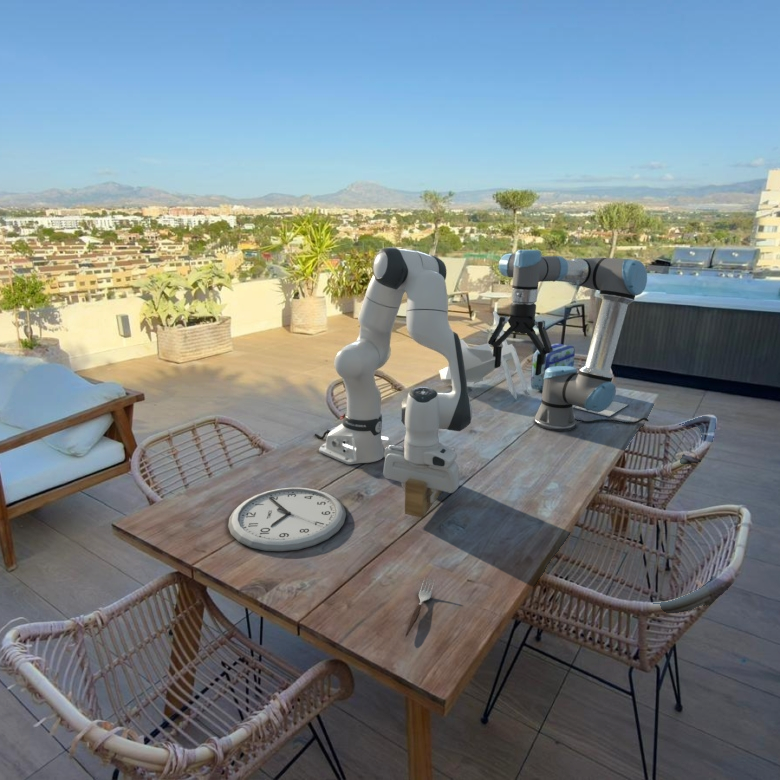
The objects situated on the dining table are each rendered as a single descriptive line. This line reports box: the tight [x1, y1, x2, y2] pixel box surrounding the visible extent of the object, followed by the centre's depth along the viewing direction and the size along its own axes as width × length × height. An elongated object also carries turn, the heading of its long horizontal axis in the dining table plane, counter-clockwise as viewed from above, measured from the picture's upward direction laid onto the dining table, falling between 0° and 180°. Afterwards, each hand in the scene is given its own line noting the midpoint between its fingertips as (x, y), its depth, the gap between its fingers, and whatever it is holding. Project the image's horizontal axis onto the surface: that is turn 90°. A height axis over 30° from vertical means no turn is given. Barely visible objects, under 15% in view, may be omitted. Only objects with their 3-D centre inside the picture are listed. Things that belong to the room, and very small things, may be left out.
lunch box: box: [530, 343, 576, 391], centre depth 249 cm, size 26×11×21 cm, turn 134°
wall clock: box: [227, 487, 347, 552], centre depth 136 cm, size 30×2×30 cm
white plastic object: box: [438, 310, 531, 400], centre depth 245 cm, size 37×45×31 cm
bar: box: [404, 447, 456, 519], centre depth 145 cm, size 26×5×9 cm, turn 155°
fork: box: [405, 577, 435, 637], centre depth 104 cm, size 3×16×2 cm, turn 160°
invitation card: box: [573, 400, 629, 418], centre depth 226 cm, size 21×1×15 cm
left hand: (419, 499), depth 138 cm, fingers closed on bar, 5 cm apart
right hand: (517, 370), depth 164 cm, fingers open, 13 cm apart
